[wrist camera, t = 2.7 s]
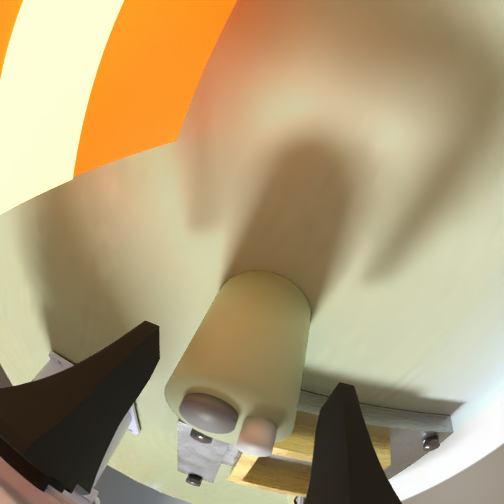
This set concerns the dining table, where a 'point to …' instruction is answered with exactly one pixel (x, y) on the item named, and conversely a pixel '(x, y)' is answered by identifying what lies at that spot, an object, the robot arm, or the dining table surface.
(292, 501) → the beer glass
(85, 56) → the orange juice
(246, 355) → the spout can
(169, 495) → the dining table surface
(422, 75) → the dining table surface
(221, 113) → the dining table surface
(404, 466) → the grey metal fixture plate
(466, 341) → the dining table surface
